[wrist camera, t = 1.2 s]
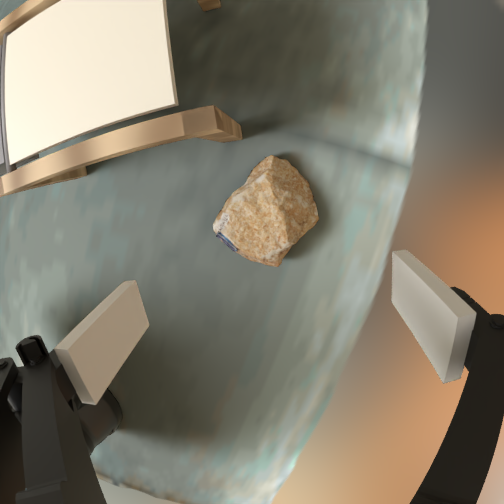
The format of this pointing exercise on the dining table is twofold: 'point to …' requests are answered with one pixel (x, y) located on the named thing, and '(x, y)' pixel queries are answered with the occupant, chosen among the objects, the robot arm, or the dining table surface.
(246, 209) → the stone
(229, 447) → the dining table surface
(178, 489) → the dining table surface
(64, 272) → the dining table surface
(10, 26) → the frame
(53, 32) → the trapdoor
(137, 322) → the robot arm
